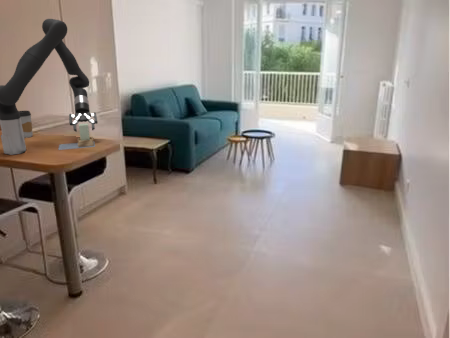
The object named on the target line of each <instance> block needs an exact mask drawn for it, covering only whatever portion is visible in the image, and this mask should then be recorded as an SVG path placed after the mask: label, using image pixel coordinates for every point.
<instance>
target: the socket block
mask: <svg viewBox="0 0 450 338" xmlns="http://www.w3.org/2000/svg"><path fill="white" fill-rule="evenodd" d="M89 137H90V140H83V141H81V138H80V137H78V138H77V143H78V147H86V146H94V143H93V142H94V137H93V136H89Z"/></svg>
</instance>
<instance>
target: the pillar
mask: <svg viewBox="0 0 450 338" xmlns="http://www.w3.org/2000/svg"><path fill="white" fill-rule="evenodd" d="M78 130H79V131H78V132H79V138H81V141H83V140H90V137H91V136H90V129H89V123H78Z"/></svg>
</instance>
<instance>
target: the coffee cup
mask: <svg viewBox="0 0 450 338" xmlns="http://www.w3.org/2000/svg"><path fill="white" fill-rule="evenodd" d="M18 111H19V113H20V117H21V123H22V128H23V134H24V139H26V138H32V137H33V135H34V134H33V122H32V113H31V112H30V110H18Z"/></svg>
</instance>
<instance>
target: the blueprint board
mask: <svg viewBox="0 0 450 338" xmlns="http://www.w3.org/2000/svg"><path fill="white" fill-rule="evenodd" d="M93 143H94V146H86V147H78V142H73V143H63V144H61V143H60V144H58V151H61V150H75V149H76V150H77V149H84V148H85V149H86V148H95V147H96V143H95V140H93Z"/></svg>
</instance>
